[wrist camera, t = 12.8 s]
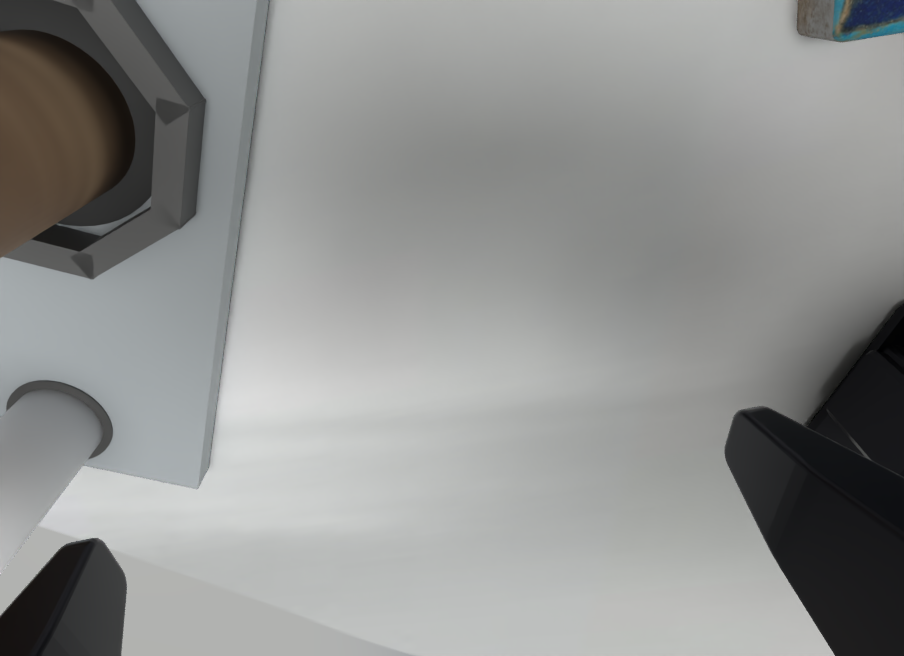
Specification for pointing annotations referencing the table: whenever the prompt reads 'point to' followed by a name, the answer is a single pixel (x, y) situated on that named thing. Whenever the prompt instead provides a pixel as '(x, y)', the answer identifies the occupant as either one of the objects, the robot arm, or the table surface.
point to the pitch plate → (131, 260)
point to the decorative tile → (849, 19)
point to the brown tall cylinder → (55, 133)
